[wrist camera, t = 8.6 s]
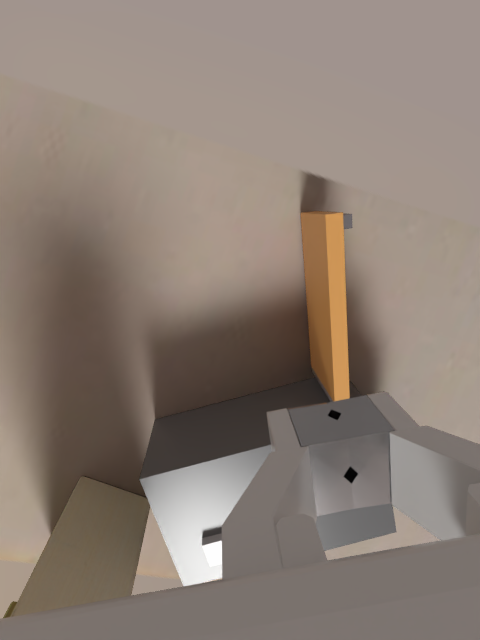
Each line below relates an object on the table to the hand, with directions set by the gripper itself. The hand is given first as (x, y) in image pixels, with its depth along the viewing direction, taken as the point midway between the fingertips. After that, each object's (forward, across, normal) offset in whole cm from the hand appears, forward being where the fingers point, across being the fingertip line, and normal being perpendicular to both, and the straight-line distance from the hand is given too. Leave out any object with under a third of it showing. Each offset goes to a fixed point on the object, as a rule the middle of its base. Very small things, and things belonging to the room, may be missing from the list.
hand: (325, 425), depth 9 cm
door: (+19, +5, -2) cm, 20 cm away
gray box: (+19, -1, -14) cm, 24 cm away
